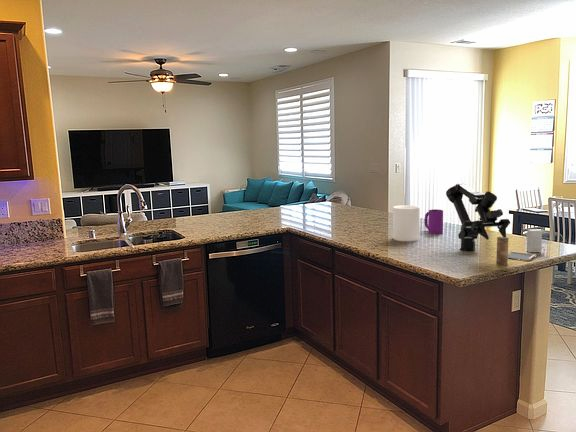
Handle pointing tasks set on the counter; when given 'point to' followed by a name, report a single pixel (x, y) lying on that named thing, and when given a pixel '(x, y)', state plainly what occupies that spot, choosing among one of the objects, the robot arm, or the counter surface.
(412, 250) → the counter surface
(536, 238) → the skincare box
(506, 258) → the brown cylinder
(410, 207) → the canister
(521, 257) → the slate mat
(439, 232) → the mug
